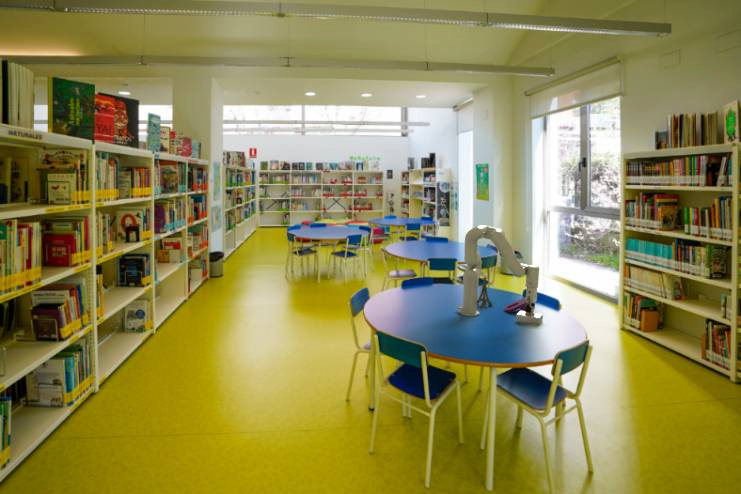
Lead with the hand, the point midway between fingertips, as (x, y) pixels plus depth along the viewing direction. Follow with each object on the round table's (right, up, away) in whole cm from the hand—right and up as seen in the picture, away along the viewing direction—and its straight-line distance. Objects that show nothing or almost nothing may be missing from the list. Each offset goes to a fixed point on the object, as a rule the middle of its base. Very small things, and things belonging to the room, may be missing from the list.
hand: (530, 310), depth 286 cm
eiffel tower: (-20, -2, +37) cm, 42 cm away
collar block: (0, -7, +1) cm, 7 cm away
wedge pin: (0, -7, +1) cm, 7 cm away
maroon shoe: (0, -4, +23) cm, 24 cm away
